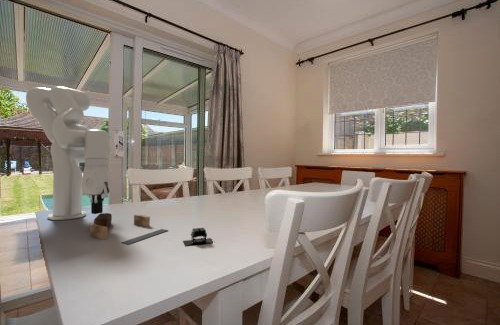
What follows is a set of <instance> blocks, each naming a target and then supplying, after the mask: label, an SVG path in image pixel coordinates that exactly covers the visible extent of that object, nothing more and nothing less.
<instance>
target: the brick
mask: <svg viewBox="0 0 500 325" xmlns="http://www.w3.org/2000/svg"><path fill="white" fill-rule="evenodd" d="M112 216H113V215H112V213H107V212H106V213H105V212H104V213H103V212H102V213H98V214H97V216H96V217H95V218H93V219H94V220H93V224H96V225H101V226H105V227H108V229H109V228H110V226H111V225H112V218H113V217H112Z"/></svg>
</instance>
